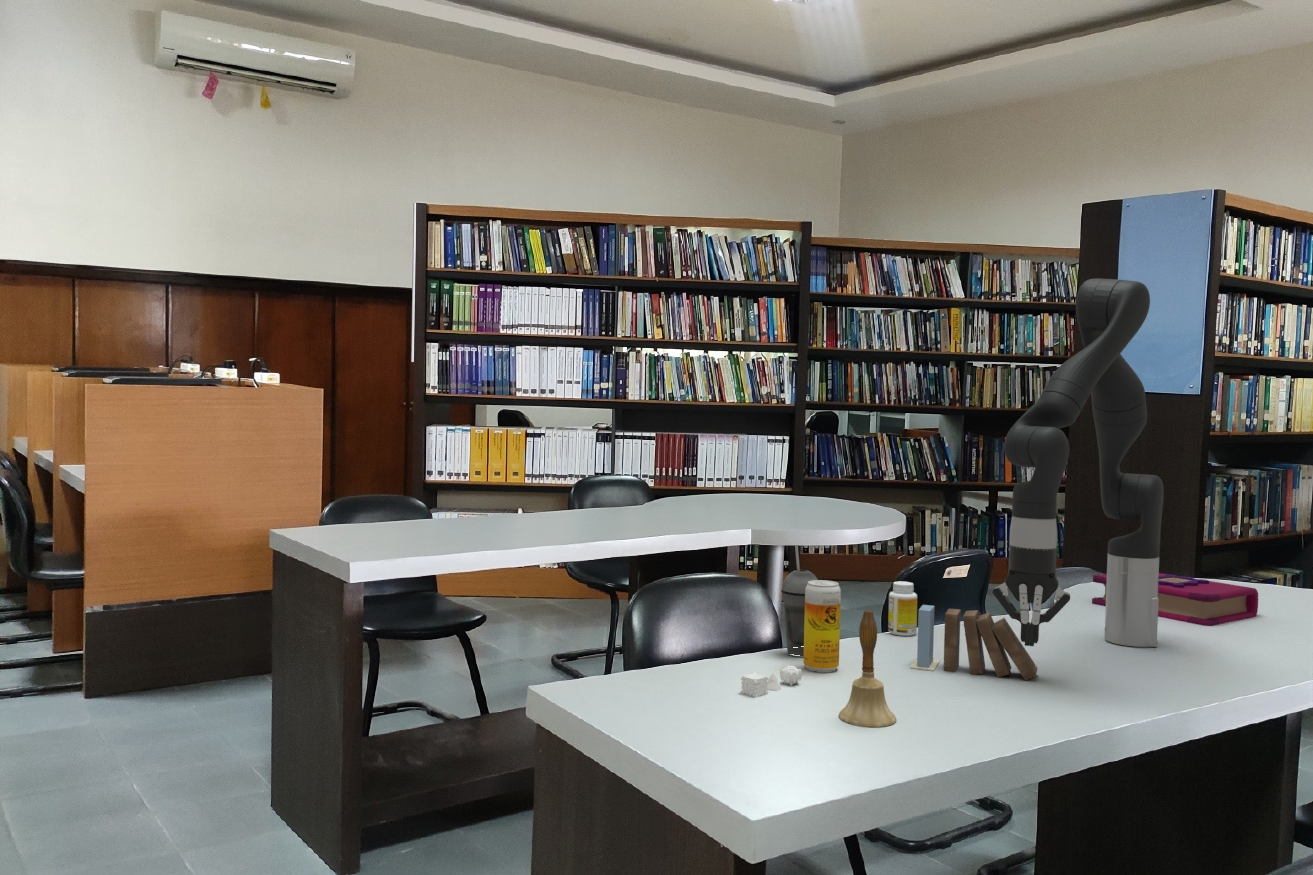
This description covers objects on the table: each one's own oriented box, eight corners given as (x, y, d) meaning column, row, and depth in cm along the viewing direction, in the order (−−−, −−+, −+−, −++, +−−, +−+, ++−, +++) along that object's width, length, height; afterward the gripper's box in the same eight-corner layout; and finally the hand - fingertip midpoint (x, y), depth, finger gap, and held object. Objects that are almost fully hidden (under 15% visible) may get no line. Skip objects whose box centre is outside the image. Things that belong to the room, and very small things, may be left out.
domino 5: (1037, 668, 174) (1004, 617, 176) (1036, 675, 169) (1001, 623, 171) (1027, 673, 175) (994, 622, 177) (1025, 680, 170) (991, 628, 172)
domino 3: (985, 666, 178) (978, 610, 178) (982, 673, 173) (974, 615, 173) (973, 667, 178) (966, 610, 179) (970, 674, 174) (962, 616, 174)
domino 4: (1011, 667, 176) (989, 612, 177) (1009, 674, 171) (987, 617, 172) (1000, 670, 177) (978, 615, 178) (997, 677, 172) (975, 621, 173)
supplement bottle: (922, 634, 203) (923, 583, 203) (904, 638, 200) (906, 586, 199) (899, 629, 207) (900, 579, 207) (882, 632, 204) (883, 582, 203)
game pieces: (755, 700, 158) (756, 679, 158) (740, 695, 160) (740, 675, 160) (804, 685, 166) (805, 665, 166) (789, 680, 168) (789, 661, 168)
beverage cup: (810, 661, 180) (812, 549, 179) (773, 655, 184) (775, 546, 183) (826, 653, 186) (828, 545, 186) (789, 647, 190) (792, 541, 189)
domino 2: (958, 665, 179) (960, 609, 179) (955, 672, 175) (957, 614, 174) (947, 664, 180) (948, 608, 180) (943, 670, 176) (945, 613, 175)
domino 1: (932, 661, 181) (934, 605, 181) (928, 667, 176) (930, 610, 176) (921, 659, 182) (923, 604, 181) (917, 666, 177) (918, 609, 177)
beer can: (817, 674, 171) (819, 587, 171) (796, 666, 177) (798, 581, 176) (846, 671, 174) (848, 584, 174) (824, 662, 180) (826, 578, 179)
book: (1140, 596, 250) (1141, 566, 250) (1258, 618, 227) (1259, 584, 226) (1088, 605, 239) (1090, 573, 238) (1208, 628, 215) (1209, 593, 215)
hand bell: (860, 730, 143) (863, 618, 142) (827, 713, 150) (830, 606, 150) (908, 724, 146) (911, 614, 146) (873, 707, 154) (876, 603, 153)
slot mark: (939, 661, 182) (939, 660, 182) (933, 670, 175) (933, 669, 175) (916, 659, 183) (916, 657, 183) (910, 668, 177) (910, 667, 177)
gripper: (990, 543, 170) (986, 645, 171) (1074, 549, 165) (1071, 654, 166) (993, 538, 177) (990, 636, 178) (1075, 543, 172) (1071, 644, 173)
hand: (1029, 644), depth 172 cm, fingers closed
